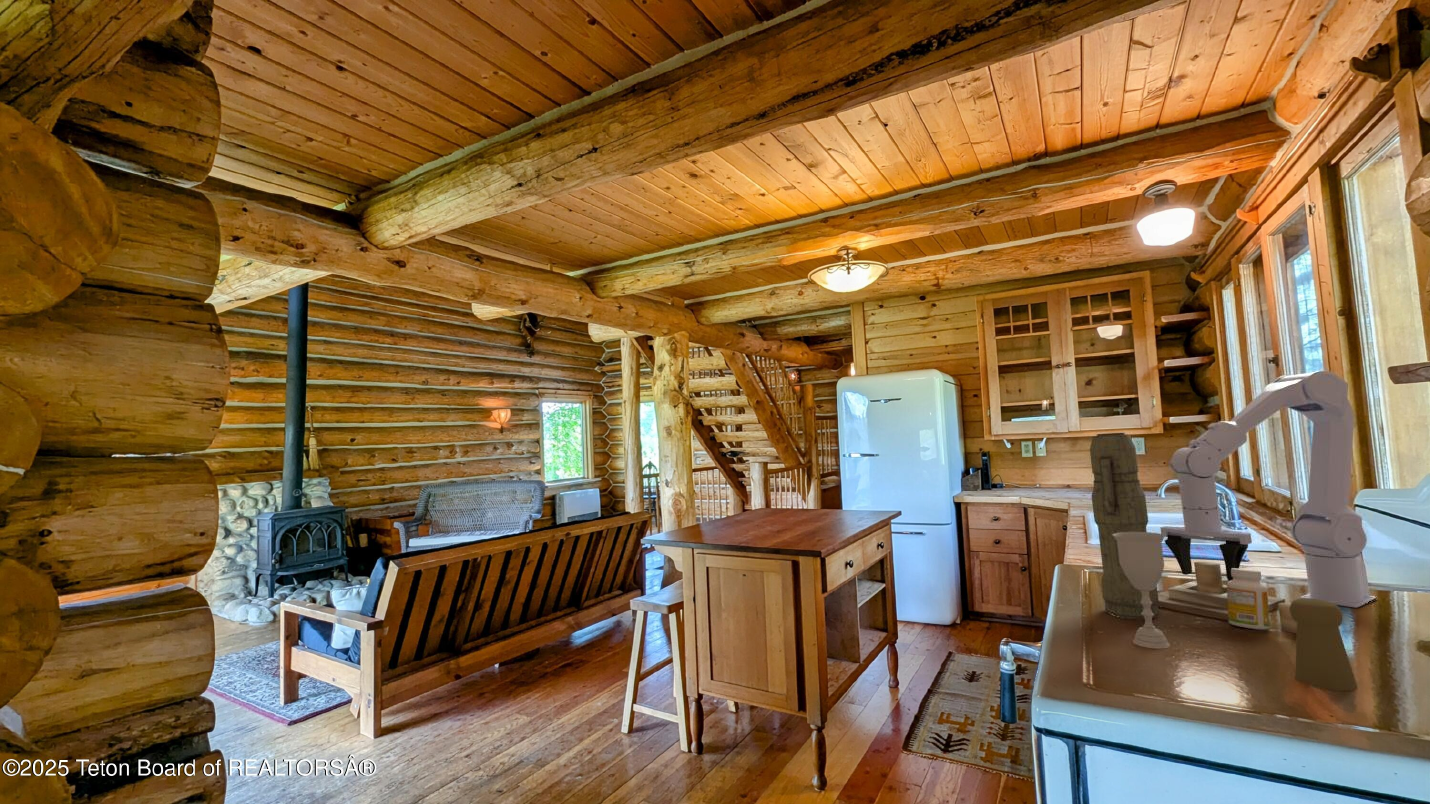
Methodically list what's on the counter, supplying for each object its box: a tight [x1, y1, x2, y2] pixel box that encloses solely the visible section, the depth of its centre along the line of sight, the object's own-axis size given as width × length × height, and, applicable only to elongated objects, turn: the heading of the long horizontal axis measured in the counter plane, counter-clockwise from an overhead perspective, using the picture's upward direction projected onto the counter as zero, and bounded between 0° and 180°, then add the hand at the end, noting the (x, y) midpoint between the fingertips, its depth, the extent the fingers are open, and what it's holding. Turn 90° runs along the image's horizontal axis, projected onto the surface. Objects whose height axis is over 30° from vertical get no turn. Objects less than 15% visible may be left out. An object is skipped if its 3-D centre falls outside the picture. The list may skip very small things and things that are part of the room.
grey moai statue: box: [1089, 432, 1160, 621], centre depth 117 cm, size 9×12×35 cm
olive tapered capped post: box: [1290, 598, 1358, 692], centre depth 82 cm, size 6×6×11 cm
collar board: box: [1158, 580, 1286, 621], centre depth 118 cm, size 17×16×3 cm
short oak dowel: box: [1278, 602, 1297, 634], centre depth 102 cm, size 4×4×4 cm
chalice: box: [1113, 531, 1171, 650], centre depth 101 cm, size 7×7×18 cm
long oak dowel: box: [1193, 561, 1224, 595], centre depth 118 cm, size 4×4×8 cm
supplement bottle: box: [1226, 568, 1270, 631], centre depth 105 cm, size 5×5×10 cm
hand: (1209, 576), depth 118 cm, fingers open, 7 cm apart
